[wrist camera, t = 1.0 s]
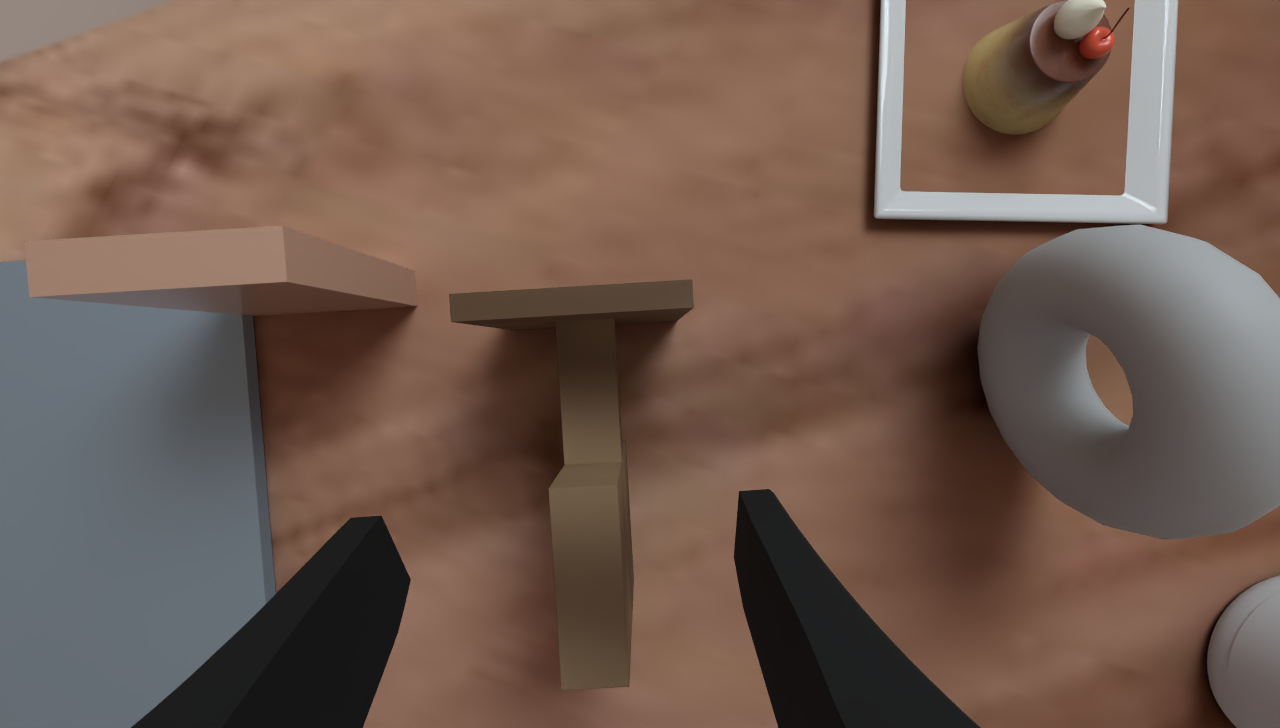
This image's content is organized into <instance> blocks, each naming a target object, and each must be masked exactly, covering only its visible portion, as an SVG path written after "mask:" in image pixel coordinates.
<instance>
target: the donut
mask: <svg viewBox="0 0 1280 728" xmlns="http://www.w3.org/2000/svg"><path fill="white" fill-rule="evenodd" d="M1090 335H1093V336H1095V337H1097V338H1099V339H1100V340H1101V341H1102V342H1103V343H1104V344H1105V345H1107V346H1108V347H1109V349H1110V350H1111V352H1112V353H1113V355H1114V356H1115V358H1116V359H1117V361H1118V362H1119V364H1120V365H1121V367H1122V368H1123V370H1124V372H1125V375H1126V378H1127V381H1128V384H1129V387H1130V390H1131V393H1132V397H1133V417H1132V420H1131V423H1130V426H1127V425H1126V424H1124V423H1123V422H1121V421H1119V420H1118V419H1117V418H1116V417H1115V416H1114V415H1113V414H1112V413H1111V412H1110V411H1109V410H1108V409H1107V408H1106V407H1105V406H1104V405H1103V403H1102V401H1101V400H1100V398H1099V397H1098V395H1097V393H1096V392H1095V390H1094V388H1093V386H1092V383H1091V380H1090V377H1089V374H1088V371H1087V367H1086V345H1087V341H1088V338H1089V337H1090ZM977 350H978V360H979V371H980V380H981V384H982V387H983V390H984V394H985V397H986V400H987V404H988V407H989V410H990V413H991V415H992V417H993V419H994V421H995V423H996V425H997V427H998V429H999V431H1000V433H1001V435H1002V437H1003V439H1004V441H1005V442H1006V444H1007V446H1008V447H1009V448H1010V449H1011V451H1012V452H1013V453H1014V455H1015V456H1016V457H1017V459H1018V460H1019V461H1020V463H1021V464H1022V465H1023V467H1024V468H1025V469H1026V470H1027V472H1028V473H1029V474H1030V475H1031V476H1032V477H1033V478H1035V479H1036V480H1037V481H1038V482H1039V483H1040V484H1041V485H1042V486H1044V487H1045V488H1046V489H1047V490H1048V491H1049V492H1050V493H1051V494H1053V495H1054V496H1055V497H1056V498H1057V499H1059V500H1060V501H1062V502H1063V503H1065V504H1066V505H1068V506H1070V507H1072V508H1073V509H1075V510H1077V511H1079V512H1081V513H1082V514H1084V515H1086V516H1088V517H1090V518H1091V519H1093V520H1095V521H1097V522H1099V523H1101V524H1102V525H1105V526H1109V527H1113V528H1117V529H1121V530H1125V531H1130V532H1134V533H1138V534H1142V535H1147V536H1151V537H1155V538H1160V539H1183V538H1191V537H1199V536H1208V535H1216V534H1224V533H1231V532H1233V531H1236V530H1238V529H1241V528H1243V527H1245V526H1248V525H1249V524H1251V523H1252V522H1254V521H1256V520H1257V519H1259V518H1260V517H1262V516H1264V515H1265V514H1267V513H1268V512H1270V511H1272V510H1273V509H1275V508H1276V507H1278V506H1280V298H1279V297H1278V296H1277V295H1276V294H1275V292H1274V291H1273V290H1272V289H1271V288H1270V287H1269V285H1268V284H1267V283H1266V282H1265V281H1264V280H1263V278H1262V277H1261V276H1260V275H1259V274H1257V273H1256V272H1254V271H1253V270H1251V269H1249V268H1248V267H1246V266H1245V265H1243V264H1241V263H1240V262H1238V261H1236V260H1235V259H1233V258H1232V257H1230V256H1228V255H1227V254H1225V253H1223V252H1222V251H1220V250H1219V249H1217V248H1215V247H1214V246H1212V245H1211V244H1209V243H1207V242H1205V241H1201V240H1198V239H1195V238H1192V237H1188V236H1184V235H1180V234H1176V233H1172V232H1168V231H1164V230H1160V229H1156V228H1152V227H1148V226H1144V225H1140V224H1139V225H1123V226H1111V227H1098V228H1086V229H1077V230H1074V231H1072V232H1069V233H1066V234H1064V235H1061V236H1059V237H1057V238H1055V239H1053V240H1051V241H1049V242H1047V243H1045V244H1043V245H1041V246H1039V247H1036V248H1034V249H1032V250H1030V251H1028V252H1027V253H1026V254H1025V255H1024V256H1023V257H1021V258H1020V259H1019V260H1018V261H1017V262H1016V263H1015V264H1014V265H1013V266H1012V267H1011V269H1010V270H1009V271H1008V272H1007V273H1006V274H1005V275H1004V276H1003V277H1002V278H1001V279H1000V280H999V281H998V283H997V284H996V286H995V288H994V291H993V293H992V295H991V297H990V300H989V302H988V304H987V307H986V309H985V311H984V313H983V316H982V318H981V324H980V332H979V340H978V347H977Z"/></svg>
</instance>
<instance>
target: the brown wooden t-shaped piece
mask: <svg viewBox="0 0 1280 728" xmlns="http://www.w3.org/2000/svg"><path fill="white" fill-rule="evenodd" d="M449 299H450V314H451V322H456V323H463V324H471V325H478V326H486V327H493V328H501V329H508V330H523V329H540V328H556V340H557V355H558V371H559V387H560V403H561V418H562V434H563V450H564V466H563V468H562V469H561V471H560V472H559V474H558V475H557V477H556V478H555V480H554V481H553V483H552V484H551V486H550V487H549V503H550V519H551V534H552V550H553V565H554V581H555V596H556V612H557V627H558V643H559V658H560V674H561V689H562V690H577V689H596V688H615V687H629V682H630V658H631V634H632V610H633V586H634V574H633V558H632V541H631V524H630V507H629V490H628V474H627V457H626V441H622V435H621V419H620V402H619V385H618V368H617V352H616V335H615V324H625V323H642V322H659V321H676V320H679V319H680V318H681V317H682V316H684V315H685V314H686V313H687V312H689V311H690V310H691V309H692V308H694V305H693V286H692V280H677V281H660V282H643V283H626V284H610V285H593V286H576V287H559V288H542V289H525V290H509V291H492V292H475V293H458V294H449Z"/></svg>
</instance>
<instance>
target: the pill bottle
mask: <svg viewBox="0 0 1280 728" xmlns="http://www.w3.org/2000/svg"><path fill="white" fill-rule="evenodd" d="M1207 671H1208V678H1209V682H1210V686H1211V689H1212V692H1213V695H1214V697H1215V699H1216V701H1217V703H1218V705H1219V706H1220V708H1221V709H1222V711H1223V712H1224V714H1225V715H1226V716H1227V718H1228V719H1229V720H1230V721H1231V722H1232V723H1233V724H1234V725H1235V726H1236V727H1237V728H1280V576H1276V577H1272V578H1269V579H1267V580H1264V581H1262V582H1259V583H1257V584H1255V585H1254V586H1252V587H1250V588H1249V589H1247V590H1246V591H1244V592H1243V593H1242V594H1240V595H1239V596H1238V597H1237V598H1236V599H1235V600H1234V601H1233V602H1232V603H1231V604H1230V605H1229V606H1228V607H1227V608H1226V610H1225V611H1224V612H1223V614H1222V615H1221V617H1220V618H1219V620H1218V622H1217V624H1216V626H1215V628H1214V630H1213V633H1212V636H1211V639H1210V643H1209V647H1208V655H1207Z"/></svg>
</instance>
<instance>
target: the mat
mask: <svg viewBox="0 0 1280 728" xmlns="http://www.w3.org/2000/svg"><path fill="white" fill-rule="evenodd" d="M275 594H276V592H275V579H274V567H273V555H272V543H271V531H270V518H269V506H268V494H267V482H266V470H265V457H264V445H263V433H262V421H261V409H260V396H259V384H258V372H257V360H256V348H255V335H254V323H253V316H249V315H237V314H225V313H213V312H201V311H190V310H178V309H166V308H154V307H142V306H130V305H118V304H106V303H94V302H82V301H70V300H58V299H46V298H34V297H29V287H28V276H27V266H26V261H12V262H0V728H131V727H132V726H133V725H134V724H136V723H137V722H138V721H139V720H140V719H142V718H143V717H144V716H145V715H146V714H148V713H149V712H150V711H151V710H152V709H153V708H155V707H156V706H157V705H158V704H159V703H160V702H162V701H163V700H164V699H165V698H166V697H167V696H168V695H170V694H171V693H172V692H173V691H174V690H175V689H176V688H177V687H179V686H180V685H181V684H182V683H183V682H184V681H185V680H186V679H188V678H189V677H190V676H191V675H192V674H193V673H194V672H195V671H196V670H197V669H198V668H199V667H200V666H201V665H203V664H204V663H205V662H206V661H207V660H208V659H209V658H210V657H211V656H212V655H213V654H214V653H215V652H216V651H217V650H219V649H220V648H221V647H222V646H223V645H224V644H225V643H226V642H227V641H228V640H229V639H230V638H231V637H232V636H233V635H234V634H236V633H237V632H238V631H239V630H240V629H241V628H242V627H243V626H244V625H245V624H246V623H247V622H248V621H249V620H250V619H251V618H252V617H253V616H254V615H255V614H256V613H257V612H258V611H259V610H260V609H261V608H262V607H263V606H264V605H265V604H266V603H267V602H268V601H269V600H270V599H271V598H272V597H273V596H274V595H275Z"/></svg>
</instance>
